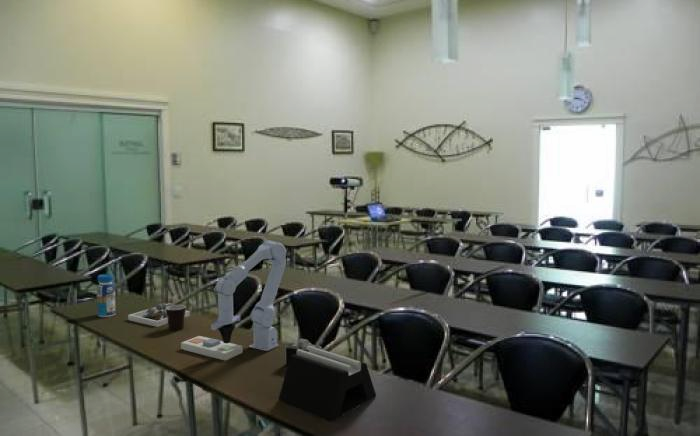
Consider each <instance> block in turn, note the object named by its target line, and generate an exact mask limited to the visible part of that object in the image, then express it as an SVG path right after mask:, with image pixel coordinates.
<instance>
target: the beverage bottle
mask: <svg viewBox="0 0 700 436" xmlns="http://www.w3.org/2000/svg"><path fill="white" fill-rule="evenodd" d="M113 281H114V276H113V274H112V273H105V274H104V273H103V274H98V275H97V282H98V283H99V284H98V285H97V287H96V291H97V292H96V297H97V316H98V317H100V318H108V317H110V318H111V317H113V316H115V315H116V313H117V311H116V288H115V285H114V283H113Z"/></svg>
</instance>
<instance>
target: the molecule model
mask: <svg viewBox="0 0 700 436" xmlns="http://www.w3.org/2000/svg"><path fill="white" fill-rule="evenodd" d="M171 304H172V303H170V302H169V303H165V302H162V303H157V304H156V305H155V307H156V308H154V307H149V308H148V309H147V310H148V311H147V312H146V313H144V316H143V317H144V318H146V317H147V318H151V317H152V316H153V315H154V314H155V313H154V312H155V309H157V310H161V311H160V312H161V313H160V314H161V315H160V316H161V317H160V318H159V320H161V319H164V318H167V313H166V311H163V310H165V309H166V307H168V306H172V305H171ZM153 308H154V309H153Z"/></svg>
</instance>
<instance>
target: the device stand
mask: <svg viewBox="0 0 700 436" xmlns="http://www.w3.org/2000/svg"><path fill="white" fill-rule="evenodd" d="M306 349H307V350H309V352H306V351H303V350H300V349H298V350H297V355H295V354H293V355H292V356H291V358H290V361H289V364H288V366H287V367H286V368H287V369H286V372H285V376H284V378H283V381H282V386H281V389H280V392H279V396H278V401H280V400H281V402H282V403H285V402H286V404H288V405H290V406H292V405H293V407H295V408H297V409H299V408H300V410H302V409H303V410H302V411H304V410H305V412H307V413H310V414H311V413H312V414H311V415H314V416H316V415H317V416H316V417H318V416H319V417H318V418H321V417H322V419H323V418H324V420H326V421H328V420H329V422H330V421H332V420H334V419H335V420H337V419H339V418H341V417H343V416H344V415H343V414H345V413H346V414H348V413H350V412H352V411H353V410H352V409H354V408H356V407H357V406H359V405H361V404H363V403H365V402H366V403H368V402H370V401H372V400H373V399H372V398H374V397H376V398H377V394H376V391H375V388H374V384H373V381H372V378H371V375H370V371H369V369H368V365H367V363H365V362H362V361H360V360H356V359H353V358H351V357H350V358H349V357H347V356H343V355H341V354H336V353H334V352H330V351H327V350H324V349H322V350H321V349H318V348H315V347H312V346H307V347H306ZM371 399H372V400H371ZM374 399H375V398H374ZM369 400H370V401H369ZM367 401H368V402H367ZM366 403H365V404H366ZM363 405H364V404H363ZM361 406H362V405H361ZM359 407H360V406H359ZM357 408H358V407H357ZM357 408H356V409H357ZM351 410H352V411H351ZM354 410H355V409H354ZM349 411H350V412H349ZM347 412H348V413H347ZM346 414H345V415H346ZM342 415H343V416H342ZM340 416H341V417H340ZM338 417H339V418H338ZM336 418H337V419H336ZM335 420H334V421H335ZM332 422H333V421H332Z"/></svg>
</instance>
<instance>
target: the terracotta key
mask: <svg viewBox="0 0 700 436" xmlns="http://www.w3.org/2000/svg"><path fill="white" fill-rule="evenodd" d="M194 338H195V337H194ZM203 341H206V340H205V339H201V338H195V339H193V340H190V341H189V342H192V343H196V344H198V343H201V342H203Z"/></svg>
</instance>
